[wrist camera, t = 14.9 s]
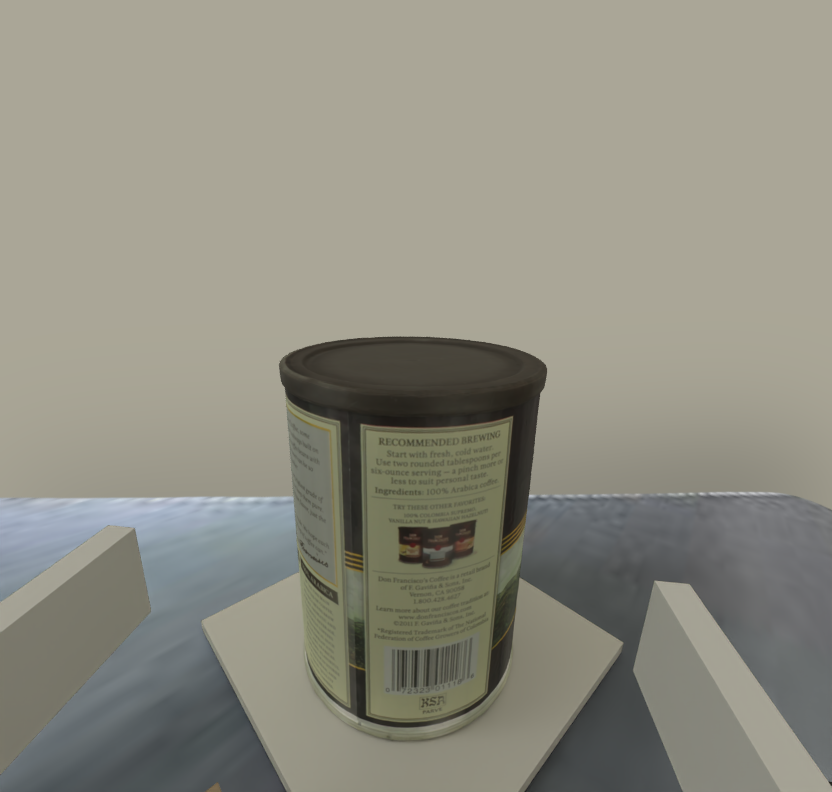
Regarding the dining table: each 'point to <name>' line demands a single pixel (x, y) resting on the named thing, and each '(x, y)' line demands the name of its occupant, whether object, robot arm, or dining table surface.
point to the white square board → (409, 759)
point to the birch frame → (214, 788)
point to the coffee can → (410, 523)
